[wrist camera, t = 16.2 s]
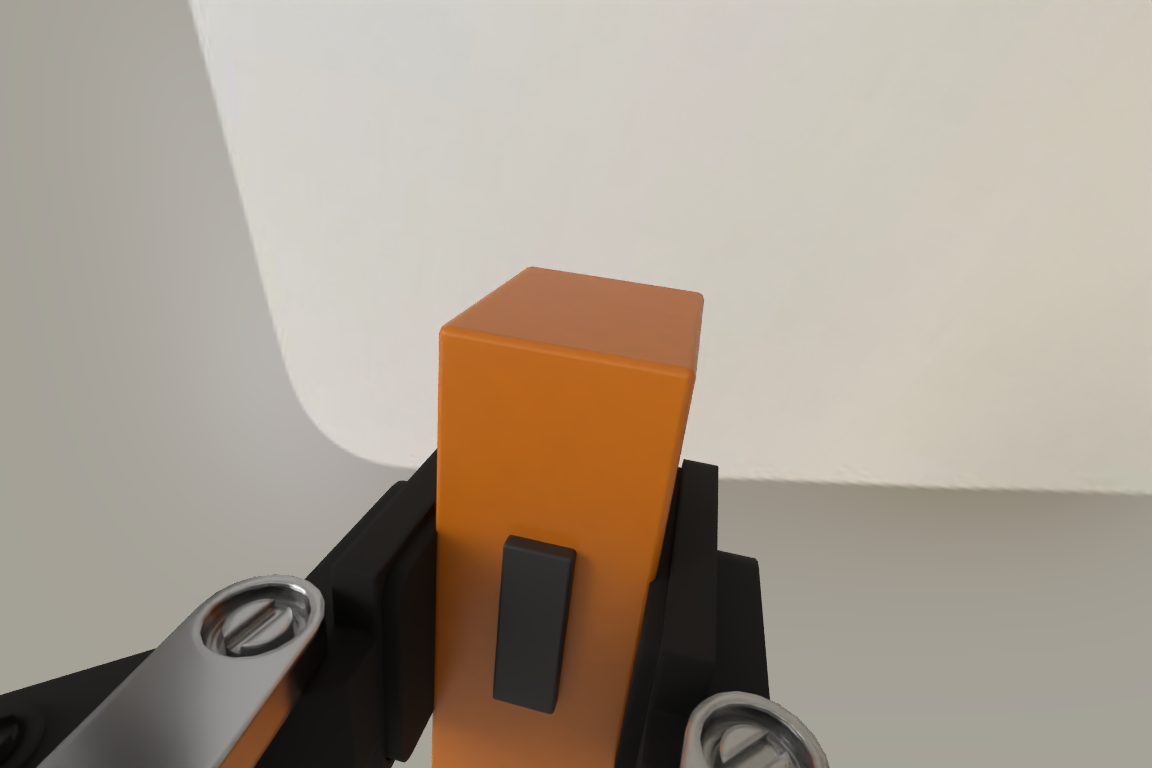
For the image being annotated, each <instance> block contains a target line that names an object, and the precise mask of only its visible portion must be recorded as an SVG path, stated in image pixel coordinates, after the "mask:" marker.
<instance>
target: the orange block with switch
mask: <svg viewBox="0 0 1152 768" xmlns="http://www.w3.org/2000/svg"><path fill="white" fill-rule="evenodd" d="M703 304H704V299H703V295H702V294H700V293H698V292H692V291H686V290H679V289H673V288H666V287H660V286H653V285H647V284H641V283H634V282H628V281H621V280H615V279H608V278H602V277H596V276H589V275H583V274H576V273H570V272H563V271H557V270H551V269H544V268H538V267H529V268H526V269H525V270H523V271H522V272H521V273H519V274H518V275H516V276H515V277H513V278H512V279H510V280H509V281H507V282H506V283H505V284H503V285H502V286H500V287H499V288H497V289H496V290H494V291H493V292H491V293H490V294H489V295H487V296H486V297H484V298H483V299H481V300H480V301H478V302H477V303H475V304H474V305H473V306H471V307H470V308H468V309H467V310H465V311H464V312H462V313H461V314H459V315H458V316H457V317H455V318H454V319H452V320H451V321H449V322H448V323H446V324H445V325H443V326H442V328H441V330H440V333H439V384H438V442H437V500H436V531H437V566H436V618H435V670H434V710H433V733H432V768H614V765H615V759H616V754H617V749H618V744H619V739H620V733H621V728H622V723H623V718H624V713H625V708H626V703H627V698H628V693H629V687H630V682H631V677H632V672H633V667H634V662H635V657H636V652H637V647H638V641H639V636H640V631H641V626H642V621H643V616H644V611H645V606H646V600H647V595H648V590H649V585H650V582H653V581H654V580H655V579H656V575H657V570H658V565H659V560H660V555H661V550H662V545H663V540H664V535H665V530H666V525H667V520H668V515H669V510H670V505H671V500H672V495H673V490H674V485H675V479H676V474H677V469H678V464H679V459H680V454H681V449H682V444H683V439H684V434H685V429H686V424H687V419H688V414H689V409H690V404H691V399H692V394H693V389H694V384H695V379H696V370H697V360H698V351H699V342H700V332H701V323H702V313H703Z"/></svg>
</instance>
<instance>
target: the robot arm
mask: <svg viewBox="0 0 1152 768" xmlns="http://www.w3.org/2000/svg"><path fill="white" fill-rule="evenodd" d="M436 500H437V449H436V450H435V451H434V452H433V454H432V455H431V456H430V457H429V458H428V459H427V460H426V461H425V462H424V463H423V465H422V466H421V467H420V468H419V469H418V470H417V471H416V472H415V473H414V475H413V476H412V477H411V478H410V479H409V480H408V481H398V482H397V483H395V484H394V485H393V486H392V487H391V488H390V489H389V490H388V491H387V492H386V493H385V494H384V495H383V496H382V497H381V498H380V499H379V501H378V502H377V503H376V504H375V505H374V506H373V507H372V508H371V509H370V510H369V511H368V512H367V513H366V514H365V516H364V517H363V518H362V519H361V520H360V521H359V522H358V523H357V524H356V525H355V526H354V527H353V528H352V529H351V530H350V532H349V533H348V534H347V535H346V536H345V537H344V538H343V539H342V540H341V541H340V542H339V543H338V544H337V546H336V547H334V549H333V550H332V551H331V552H330V553H329V554H328V555H327V556H326V557H325V558H324V559H323V560H322V561H321V562H320V563H319V565H318V566H317V567H316V568H315V569H314V570H313V571H312V572H311V573H310V574H309V575H308V576H307V578H306V579H301V578H298V577H295V576H289V575H267V576H258V577H253V578H250V579H247V580H243V581H240V582H237V583H234V584H232V585H230V586H228V587H226V588H224V589H222V590H220V591H218V592H216V593H215V594H214V595H212V596H211V597H210V598H208V599H207V600H206V601H205V602H203V603H202V604H201V605H200V606H199V607H198V608H197V609H196V610H195V611H194V612H193V613H192V614H191V615H190V616H188V617H187V618H186V619H185V620H184V622H182V623H181V625H179V626H178V627H177V629H175V630H174V632H172V633H171V634H170V635H169V636H168V637H167V638H166V639H165V641H163V642H162V643H161V644H160V645H159V646H158V647H157V648H156V649H152V650H149V651H146V652H143V653H139V654H136V655H132V656H129V657H126V658H122V659H119V660H116V661H113V662H109V663H106V664H102V665H99V666H96V667H92V668H90V669H86V670H82V671H79V672H76V673H72V674H69V675H66V676H62V677H60V678H56V679H52V680H49V681H46V682H43V683H39V684H36V685H32V686H29V687H26V688H23V689H19V690H16V691H12V692H9V693H6V694H3V695H0V768H391V767H392V765H393V763H394V761H395V760H398V761H401V762H406V761H407V760H408V759H409V757H410V756H411V754H412V752H413V750H414V748H415V746H416V744H417V742H418V740H419V738H420V736H421V734H422V732H423V730H424V728H425V726H426V724H427V722H428V720H429V718H430V716H431V714H432V712H433V710H434V670H435V618H436V566H437V531H436ZM717 523H718V466H715V465H710V464H706V463H701V462H696V461H691V460H686V459H684V460H683V464H682V468H680V467H678V469H677V474H676V479H675V485H674V490H673V495H672V500H671V505H670V510H669V515H668V520H667V525H666V530H665V535H664V540H663V545H662V550H661V555H660V560H659V565H658V570H657V575H656V579H655V580H654V581H653V582H650V585H649V590H648V595H647V600H646V606H645V611H644V616H643V621H642V626H641V631H640V636H639V641H638V647H637V652H636V657H635V662H634V667H633V672H632V677H631V682H630V687H629V693H628V698H627V703H626V708H625V713H624V718H623V723H622V728H621V733H620V739H619V744H618V749H617V754H616V759H615V765H614V768H829V764H828V760H827V757H826V754H825V753H824V751H823V749H822V748H821V746H820V744H819V742H818V741H817V739H816V737H815V735H813V733H812V732H811V731H810V730H809V729H808V728H807V727H806V726H805V725H804V724H803V722H802V721H801V720H800V719H799V718H798V717H796V716H795V715H794V714H792V713H791V712H789V711H788V710H787V709H785V708H784V707H782V706H781V705H780V704H778V703H775V702H773V701H771V700H770V696H769V686H768V674H767V673H768V672H767V661H766V648H765V636H764V626H763V625H764V624H763V613H762V601H761V589H760V577H759V567H758V561H757V560H756V559H755V558H750V557H746V556H741V555H737V554H732V553H728V552H723V551H719V550H717V528H718V527H717V525H718V524H717Z"/></svg>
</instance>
